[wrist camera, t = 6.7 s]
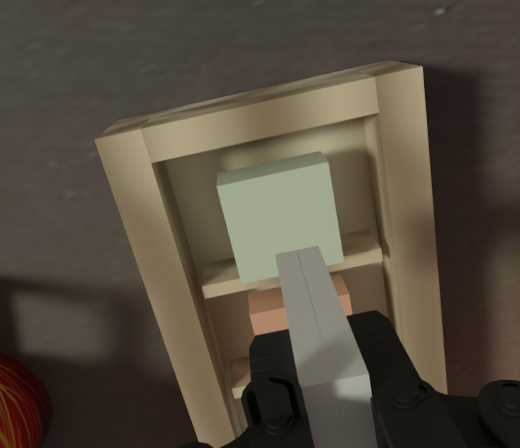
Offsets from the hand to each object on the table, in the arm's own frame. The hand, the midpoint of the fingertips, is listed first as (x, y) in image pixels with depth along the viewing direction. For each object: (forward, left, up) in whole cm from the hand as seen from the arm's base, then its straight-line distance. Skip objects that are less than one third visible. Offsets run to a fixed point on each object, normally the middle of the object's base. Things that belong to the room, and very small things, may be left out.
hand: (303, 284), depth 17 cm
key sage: (0, 0, -7) cm, 7 cm away
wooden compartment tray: (0, -10, -10) cm, 14 cm away
